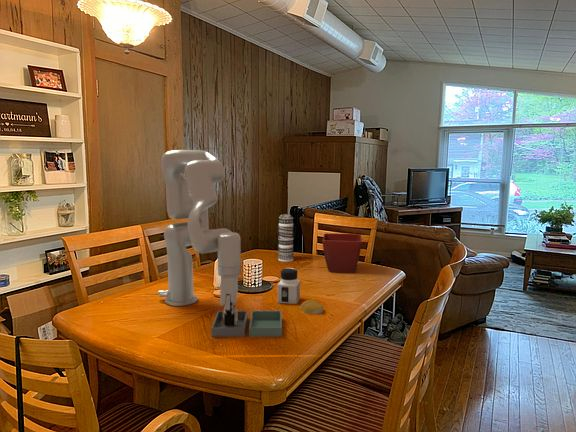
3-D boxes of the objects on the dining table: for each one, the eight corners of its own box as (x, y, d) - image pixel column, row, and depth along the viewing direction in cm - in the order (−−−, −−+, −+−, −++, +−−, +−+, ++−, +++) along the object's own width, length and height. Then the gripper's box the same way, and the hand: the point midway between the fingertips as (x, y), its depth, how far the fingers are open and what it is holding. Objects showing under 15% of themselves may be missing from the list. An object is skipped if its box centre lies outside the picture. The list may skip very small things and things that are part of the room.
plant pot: (323, 263, 232) (324, 232, 230) (360, 265, 230) (361, 233, 227) (321, 273, 214) (322, 240, 211) (361, 275, 211) (362, 241, 209)
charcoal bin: (211, 338, 140) (211, 328, 139) (217, 320, 155) (217, 311, 154) (244, 338, 140) (244, 328, 140) (247, 320, 155) (247, 310, 154)
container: (296, 304, 171) (296, 272, 169) (277, 303, 173) (277, 271, 171) (300, 298, 179) (300, 267, 177) (281, 296, 180) (281, 266, 178)
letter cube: (222, 325, 145) (222, 312, 144) (224, 320, 149) (224, 307, 149) (236, 325, 145) (236, 312, 144) (237, 320, 150) (237, 307, 149)
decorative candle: (276, 261, 237) (276, 215, 233) (279, 257, 246) (279, 213, 242) (292, 262, 236) (292, 216, 232) (295, 258, 245) (295, 213, 241)
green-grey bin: (249, 338, 140) (249, 327, 140) (251, 320, 155) (251, 310, 154) (281, 338, 140) (281, 327, 140) (281, 320, 155) (281, 310, 155)
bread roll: (307, 317, 159) (307, 306, 158) (297, 309, 167) (297, 299, 166) (327, 314, 161) (327, 304, 161) (317, 306, 170) (317, 296, 169)
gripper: (221, 263, 153) (222, 313, 155) (214, 277, 136) (215, 332, 139) (242, 263, 153) (243, 313, 156) (238, 277, 136) (239, 332, 139)
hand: (230, 321), depth 147 cm, fingers closed on letter cube, 4 cm apart
